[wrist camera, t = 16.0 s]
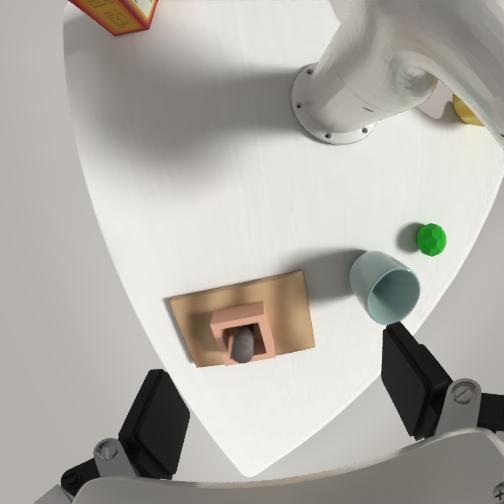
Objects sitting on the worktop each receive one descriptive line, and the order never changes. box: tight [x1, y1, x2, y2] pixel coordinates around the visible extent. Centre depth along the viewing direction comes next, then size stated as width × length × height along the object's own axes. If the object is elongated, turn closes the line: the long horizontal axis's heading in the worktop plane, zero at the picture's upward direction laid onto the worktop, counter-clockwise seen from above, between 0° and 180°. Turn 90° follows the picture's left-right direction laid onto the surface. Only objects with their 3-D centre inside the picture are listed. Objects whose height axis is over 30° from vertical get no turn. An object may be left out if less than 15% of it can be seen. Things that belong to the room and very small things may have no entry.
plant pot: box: [453, 94, 485, 127], centre depth 25 cm, size 10×10×10 cm
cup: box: [349, 251, 420, 325], centre depth 34 cm, size 8×8×10 cm
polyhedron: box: [417, 223, 446, 256], centre depth 35 cm, size 5×5×5 cm
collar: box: [210, 301, 275, 366], centre depth 38 cm, size 7×7×4 cm
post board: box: [169, 270, 315, 368], centre depth 37 cm, size 20×13×8 cm, turn 104°
